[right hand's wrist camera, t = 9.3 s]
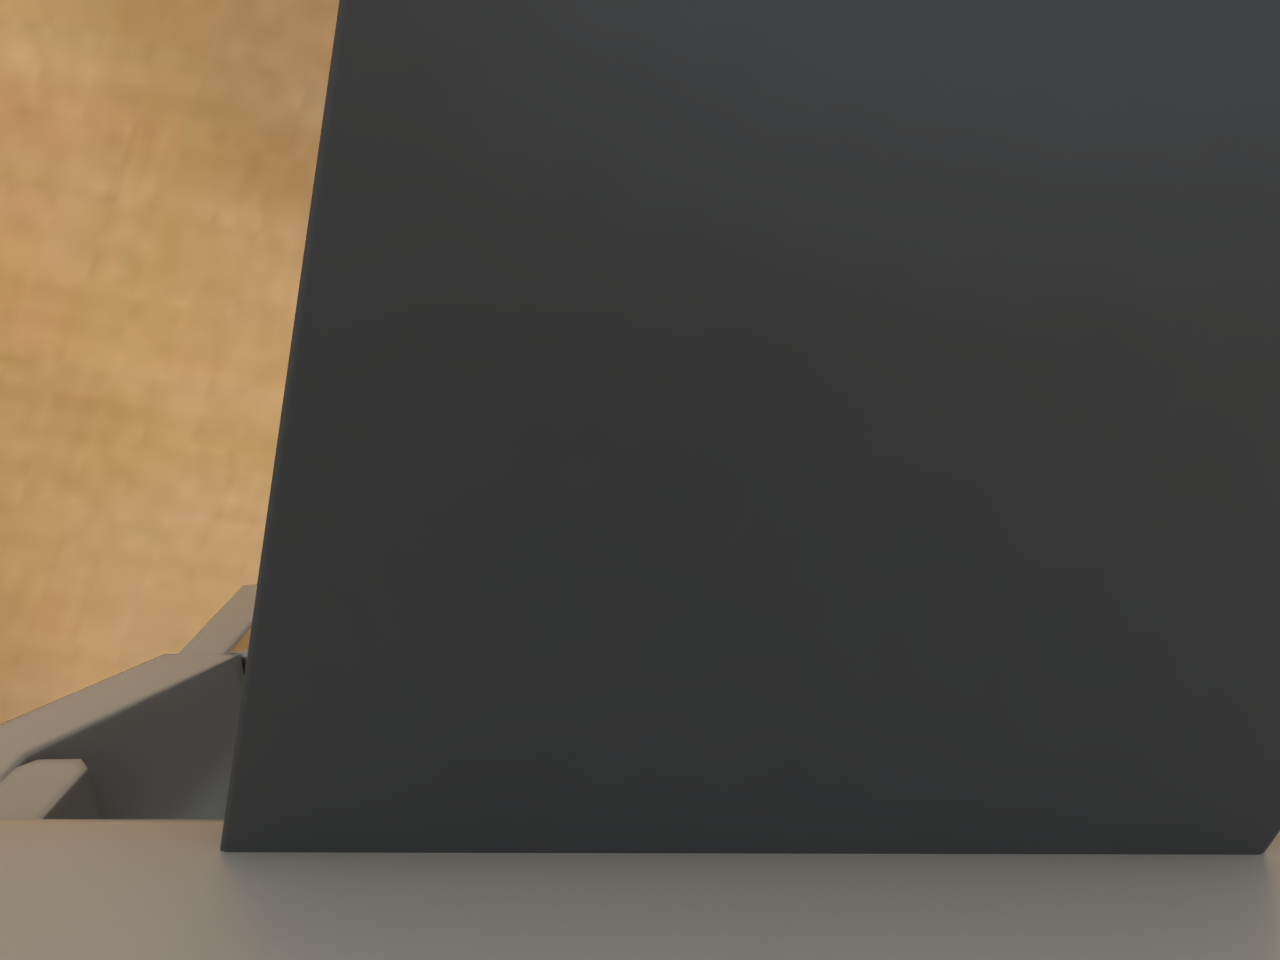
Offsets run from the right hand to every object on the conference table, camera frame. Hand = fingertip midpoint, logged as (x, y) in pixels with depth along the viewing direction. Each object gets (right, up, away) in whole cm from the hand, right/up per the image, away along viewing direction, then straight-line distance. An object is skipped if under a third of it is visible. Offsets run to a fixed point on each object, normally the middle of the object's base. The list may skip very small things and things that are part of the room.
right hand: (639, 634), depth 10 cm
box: (+2, +9, +3) cm, 9 cm away
